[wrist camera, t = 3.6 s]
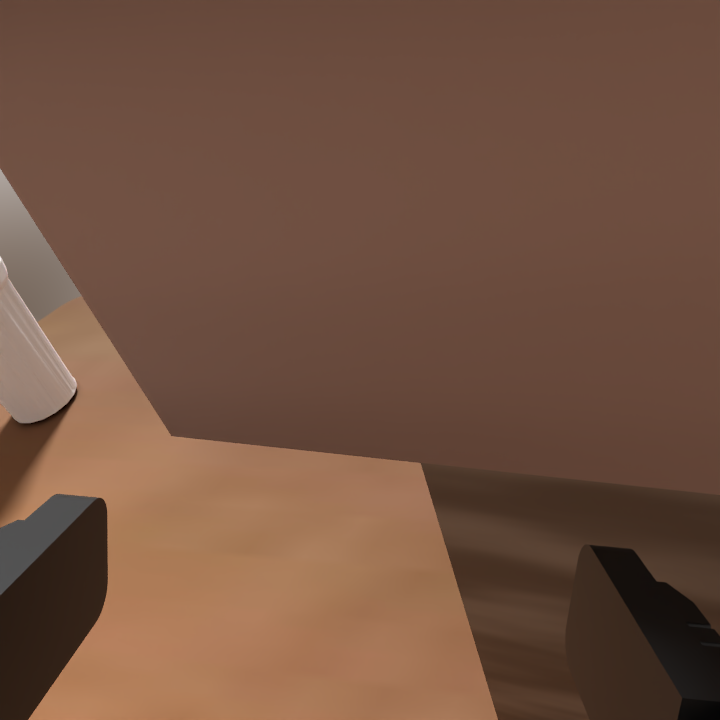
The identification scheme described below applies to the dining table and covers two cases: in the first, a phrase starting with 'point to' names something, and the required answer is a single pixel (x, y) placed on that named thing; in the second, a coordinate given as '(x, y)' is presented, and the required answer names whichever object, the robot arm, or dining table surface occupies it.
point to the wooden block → (392, 220)
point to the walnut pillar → (558, 567)
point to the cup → (28, 362)
